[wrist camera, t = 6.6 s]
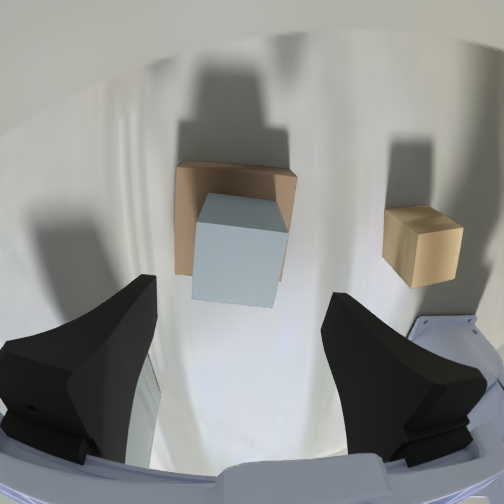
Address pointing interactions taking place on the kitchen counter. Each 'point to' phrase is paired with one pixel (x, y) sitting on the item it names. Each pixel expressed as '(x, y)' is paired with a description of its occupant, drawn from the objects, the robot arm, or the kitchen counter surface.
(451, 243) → the oak block
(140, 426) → the supplement box
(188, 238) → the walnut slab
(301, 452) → the kitchen counter surface
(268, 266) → the slate block
